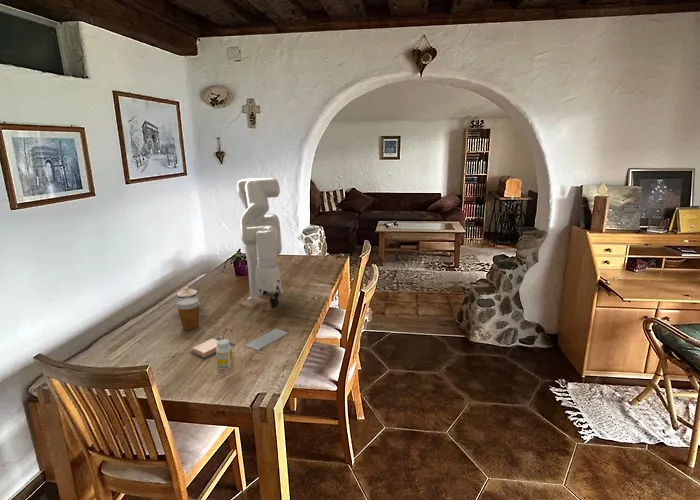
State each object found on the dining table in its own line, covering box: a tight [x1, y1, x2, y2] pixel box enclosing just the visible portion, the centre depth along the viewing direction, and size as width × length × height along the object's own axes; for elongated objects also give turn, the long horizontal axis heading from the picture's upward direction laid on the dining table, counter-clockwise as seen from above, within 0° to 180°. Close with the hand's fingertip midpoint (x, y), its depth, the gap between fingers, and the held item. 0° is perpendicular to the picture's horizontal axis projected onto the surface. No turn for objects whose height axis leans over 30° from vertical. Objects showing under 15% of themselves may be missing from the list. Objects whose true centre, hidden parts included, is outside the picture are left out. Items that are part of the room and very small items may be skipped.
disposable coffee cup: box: [175, 297, 201, 331], centre depth 175 cm, size 10×10×12 cm
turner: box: [239, 292, 282, 312], centre depth 159 cm, size 16×6×5 cm, turn 145°
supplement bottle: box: [215, 338, 234, 370], centre depth 144 cm, size 5×5×10 cm
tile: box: [192, 338, 218, 357], centre depth 156 cm, size 2×7×9 cm
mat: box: [188, 337, 236, 361], centre depth 157 cm, size 14×10×1 cm
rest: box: [244, 328, 289, 351], centre depth 164 cm, size 17×7×1 cm, turn 145°
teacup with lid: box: [176, 286, 199, 301], centre depth 192 cm, size 12×9×12 cm
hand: (270, 305), depth 163 cm, fingers closed on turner, 4 cm apart
